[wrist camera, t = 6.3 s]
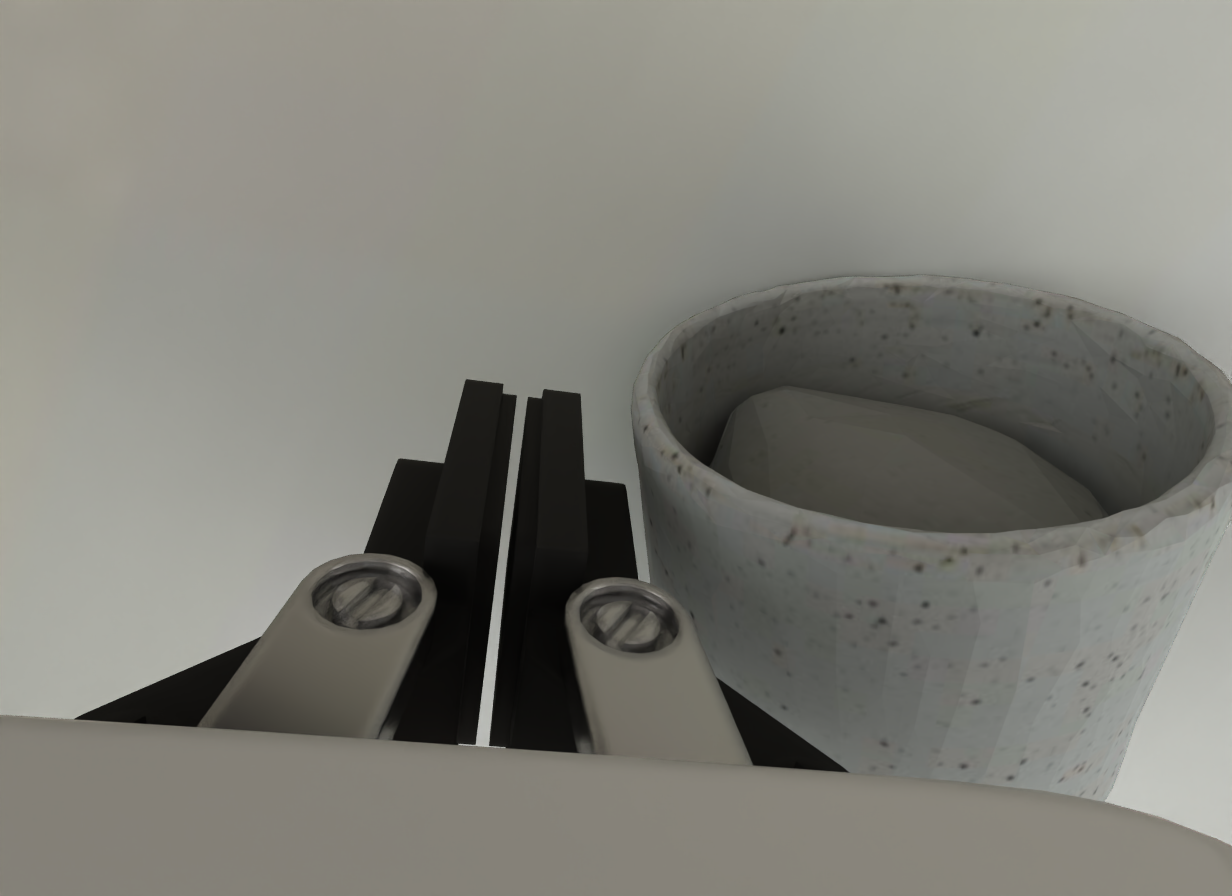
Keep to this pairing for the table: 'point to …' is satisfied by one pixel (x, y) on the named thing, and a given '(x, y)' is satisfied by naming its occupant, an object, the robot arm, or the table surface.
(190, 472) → the table surface
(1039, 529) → the ceramic mug
